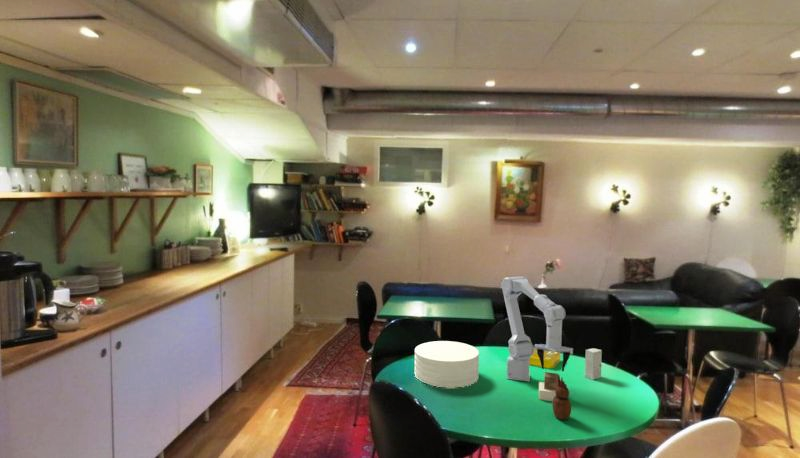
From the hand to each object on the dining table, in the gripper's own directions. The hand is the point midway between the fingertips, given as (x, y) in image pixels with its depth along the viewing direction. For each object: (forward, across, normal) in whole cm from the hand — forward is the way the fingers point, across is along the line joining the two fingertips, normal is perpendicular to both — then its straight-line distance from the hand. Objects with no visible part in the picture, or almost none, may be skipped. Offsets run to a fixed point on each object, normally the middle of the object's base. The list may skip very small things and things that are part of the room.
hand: (552, 369), depth 189 cm
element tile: (+11, -6, +38) cm, 39 cm away
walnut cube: (+6, 0, -3) cm, 7 cm away
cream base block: (+10, 0, -3) cm, 11 cm away
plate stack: (+10, -44, +3) cm, 46 cm away
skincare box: (+10, +16, +25) cm, 31 cm away
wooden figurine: (+10, +4, -21) cm, 24 cm away
